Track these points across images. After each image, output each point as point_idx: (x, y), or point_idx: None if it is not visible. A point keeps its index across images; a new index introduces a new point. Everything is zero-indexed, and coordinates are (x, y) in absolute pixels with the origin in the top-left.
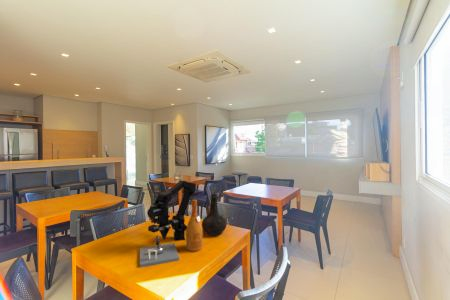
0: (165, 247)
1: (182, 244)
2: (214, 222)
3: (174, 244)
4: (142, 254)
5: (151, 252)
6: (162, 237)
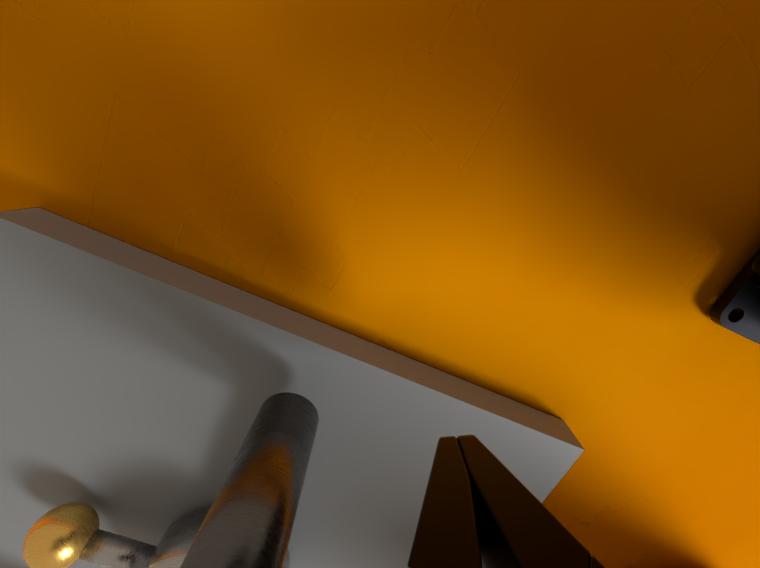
0: (381, 492)
1: (659, 476)
2: None
3: (545, 497)
4: (4, 460)
5: (114, 544)
6: (433, 473)
